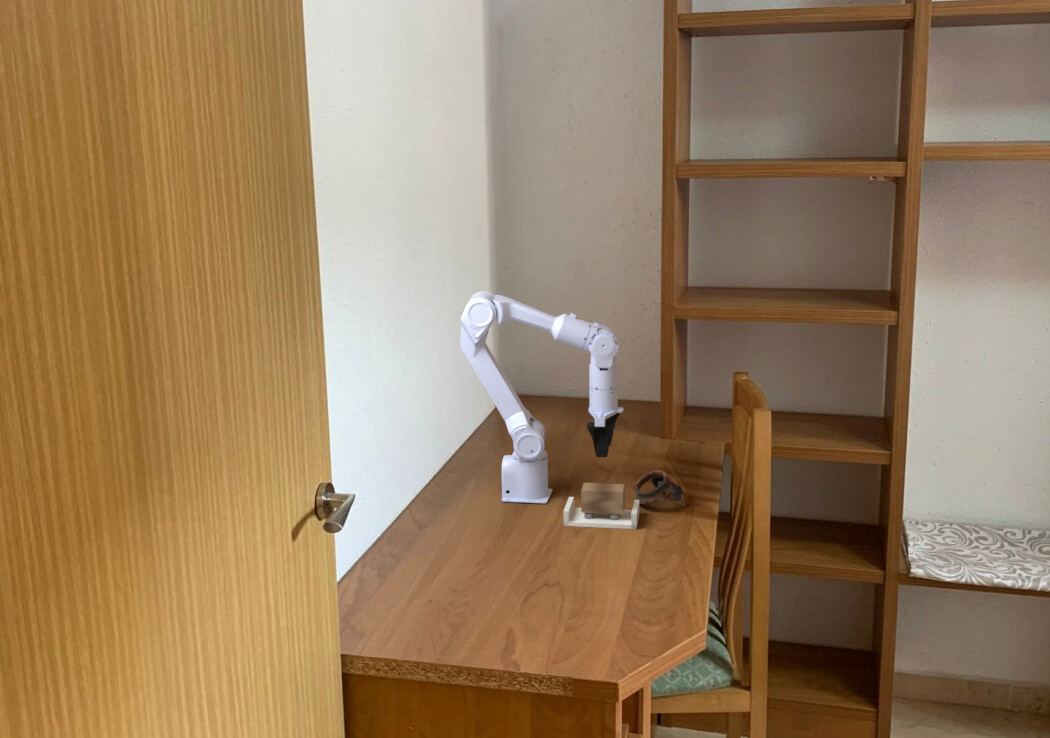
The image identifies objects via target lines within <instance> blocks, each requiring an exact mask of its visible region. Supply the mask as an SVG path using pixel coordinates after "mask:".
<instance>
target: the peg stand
mask: <svg viewBox="0 0 1050 738" xmlns="http://www.w3.org/2000/svg"><path fill="white" fill-rule="evenodd" d="M562 513H563V516H562V517H563V526H564V527H579V528H580V527H581V528H585V527H586V528H601V529H603V528H604V529H623V530H637V528H638V523H639V518H640V505H639V500H636V499H634V500H633V505H632V509H624V512H623V514H603V513H581V507H575V496H568V498H567V501H566V504H565V506H564V509H563V512H562Z"/></svg>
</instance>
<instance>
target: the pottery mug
mask: <svg viewBox="0 0 1050 738" xmlns="http://www.w3.org/2000/svg"><path fill="white" fill-rule="evenodd" d="M649 481H650V482H651V483H652V486H653V487H654V489H653V488H652V489H651V490H648V491H647V490H646V491H642V490H640V489H641V488H642V487H643V486H644V485H645V484H646V483H647V482H649ZM635 487H636V488H635V489H634V492H635V500H639V506H640V504H641V505H648V504H654V503H656V502H661V503H664V502H665V501H664V500H665V499H664V496H666V495H667V494H669V495H670V500H672V501H675V500H677V501H680V502H681V505H682V508H683V509H685V508H686V504H687V503H686V500H685V494H684V491H683V489H682V488H683V487H682V486H681V484H680V483H679V481H678V480H677V479H676V478H675V477H673V476H672V475H670V474H667V473H666V471H665V470H664V469H662V468H659V469H655V470H652V471H649V472H647V473H645V474H644V475H642V476H641V477H640V478H638V479H637V481H636V482H635Z"/></svg>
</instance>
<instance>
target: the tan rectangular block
mask: <svg viewBox="0 0 1050 738" xmlns="http://www.w3.org/2000/svg"><path fill="white" fill-rule="evenodd" d="M625 490H626V484H623V483H602V482H601V483H598V482H583V484H582V487H581V491H580V492H581V493H580V495H581V496H580V498H581V499H580V502H581V504H580V505H581V507H580V508H581V513H603V514H623V512H624V510H625V507H626V502H625V501H626V491H625Z"/></svg>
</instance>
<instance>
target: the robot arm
mask: <svg viewBox="0 0 1050 738" xmlns="http://www.w3.org/2000/svg"><path fill="white" fill-rule="evenodd" d="M496 319H498V320H497V321H498V322H497V324H498V325H501V324H505V323H508V322H512V321H515V322H518V323H521V324H523V325H524V324H525V325H527V326H531V327H533V328H537V329H540V330H544V331H546V332H549V333H550V334H551V336H552V337H553V340H554V341H556V342H558V343H561V344H564V345H567V346H569V347H572V348H575V349H578V350H580V351H583V352H584V351H586V352H587V351H589V353H590V363H589V365H588V370H589V371H588V373H589V375H588V378H589V379H588V381H589V384H588V385H589V389H588V390H589V391H588V392H589V393H588V394H589V396H588V397H589V399H588V400H589V401H588V402H589V403H588V405H589V406H588V413H589V414H590V415H591V416H592V417H593V419H594V421H593V422H592V421H591V422H590V421H588V422H587V424H586V428H587V430H588V432H589V435H590V436H591V441H592V443H593V444H592V445H593V447H594V455H595V457H596V458H607V456H608V454H609V450H610V449H609V448H610V447H611V445H612V442H613V436H614V430H615V428H616V422H617V419H618V418H619V416H620V414H621V413H622V414H623V412H624V407H623V406H618V401H619V399H618V389H619V388H618V383H619V382H618V381H619V379H618V377H619V375H618V370H619V369H618V367H619V366H618V364H617V362H618V355H617V354H618V352H619V349H620V345H619V340H618V337H617V334H616V332H615V331H614V330H613V329H612V328H610V327H608V326H607V325H605V324H601V325H600V323H598V322H596V321H595V322H592V323H591V322H589V321H587V320H583V319H581V318H578V315H577V313H574V312H570V314H567V313H562V314H560V315H558V316H555V315H552V314H550V313H547V312H545V311H542V310H539V309H537V308H535V307H533V306H529V305H527V304H525V303H523V302H520V301H518V300H515V299H513V298H510V297H507V296H505V295H500V294H495V295H494V294H493V293H492V292H490V291H486V290H485V291H484V290H481V291H477V292H475V293H474V294H473V295H472V296H471V297H470V299H469V300H468V303H467V304H466V305H465V307H464V310H463V313H462V315H461V317H460V341H459V343H460V344H459V345H460V346H459V347H460V349H461V351H462V353H463V355H464V356H465V358H466V360H467V361H468V363H469V365H470V366H471V368H472V369H473V371H474V372H475V373H474V374H475V375H476V377H477V378H478V379H479V382H480V383H481V384H482V386H483V387H484V389H485V391H486V392H487V394H488V396H489V398H490V399H491V401H492V402H493V404H494V406H495V407H496V409H497V410H498V412H499V414H500V416H501V417H502V419H503V420H504V422H505V425H506V428H507V432H508V434H509V435H510V437H511V439H512V443H513V444H512V445H513V446H512V447H513V450H514V451H513V452H512V454H505V455H503V457H502V461H501V502H503V503H504V502H505V503H522V504H523V503H525V504H528V503H529V504H548V502H549V499H550V498H551V495H552V493H553V489H552V488H550V487H549V474H548V473H549V471H548V470H549V469H548V468H549V467H548V464H549V459H548V452H547V450H545V447H546V446H545V445H546V444H545V439H546V428H545V426H544V424H543V423H542V422H540V421H539V420H538V419H536V418H534V416H533V415H532V414H531V411H530V410H528V409H527V408H526V407H525V406H524V403H522V401H521V399H520V397H519V396H518V394H517V393H516V391H515V389H514V388H513V386H512V384H511V383H510V381H509V379H508V377H507V376H506V375H505V373H504V371H503V370H502V368H501V366H500V364H499V363H498V361H497V359H496V358H495V356H494V355H493V353H492V351H491V349H490V348H489V346H488V345H487V338H488V334H489V331H490V329H491V327H492V326H493V324H494V323H495V322H496V321H495V320H496Z"/></svg>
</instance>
